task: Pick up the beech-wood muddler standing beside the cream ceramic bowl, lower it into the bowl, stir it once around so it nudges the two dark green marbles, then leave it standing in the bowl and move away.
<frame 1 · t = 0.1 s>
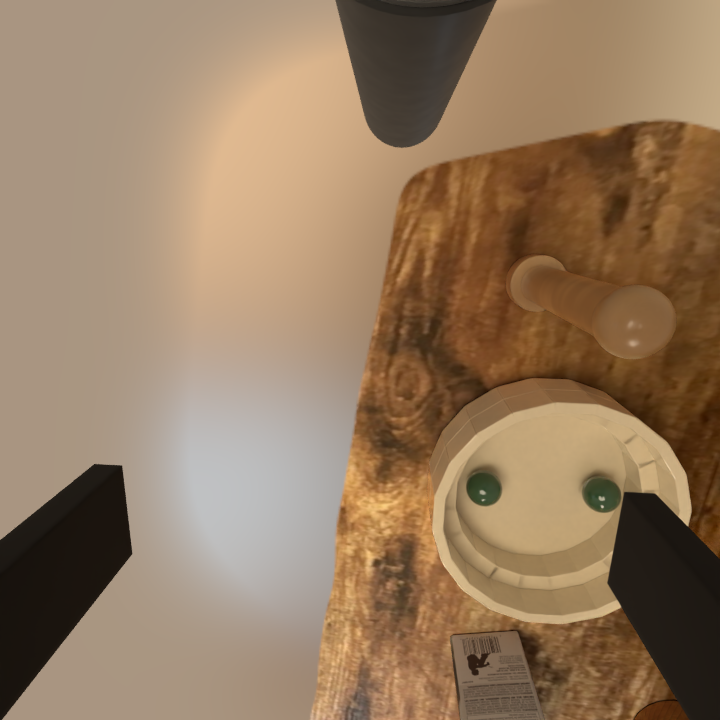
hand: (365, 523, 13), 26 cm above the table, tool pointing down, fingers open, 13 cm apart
marble a: (601, 494, 38), point 2 cm above the table, touching bowl
bowl: (535, 478, 40), on the table
marble b: (484, 488, 39), point 2 cm above the table, touching bowl
muddler: (533, 281, 36), on the table
coffee box: (487, 668, 46), on the table
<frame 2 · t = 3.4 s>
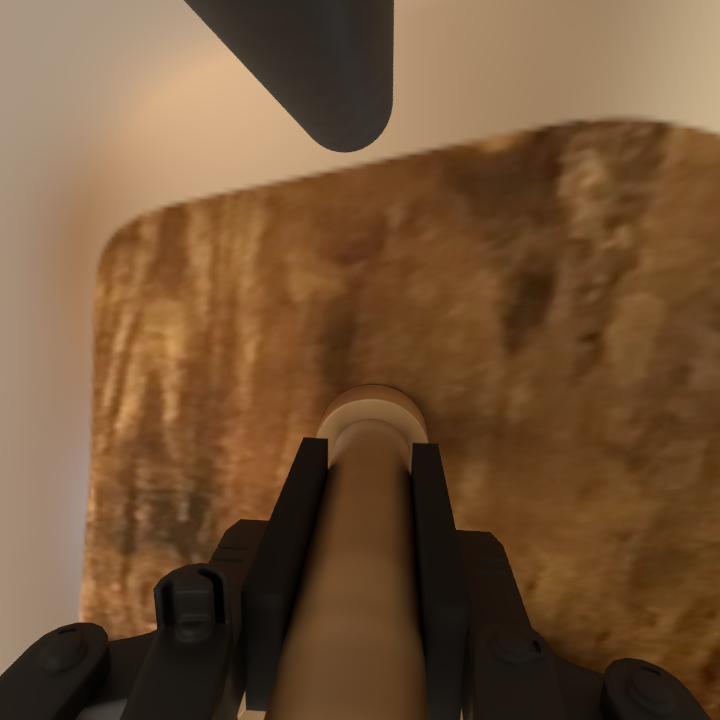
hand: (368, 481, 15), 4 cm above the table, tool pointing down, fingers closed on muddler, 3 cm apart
muddler: (373, 434, 19), on the table, touching gripper
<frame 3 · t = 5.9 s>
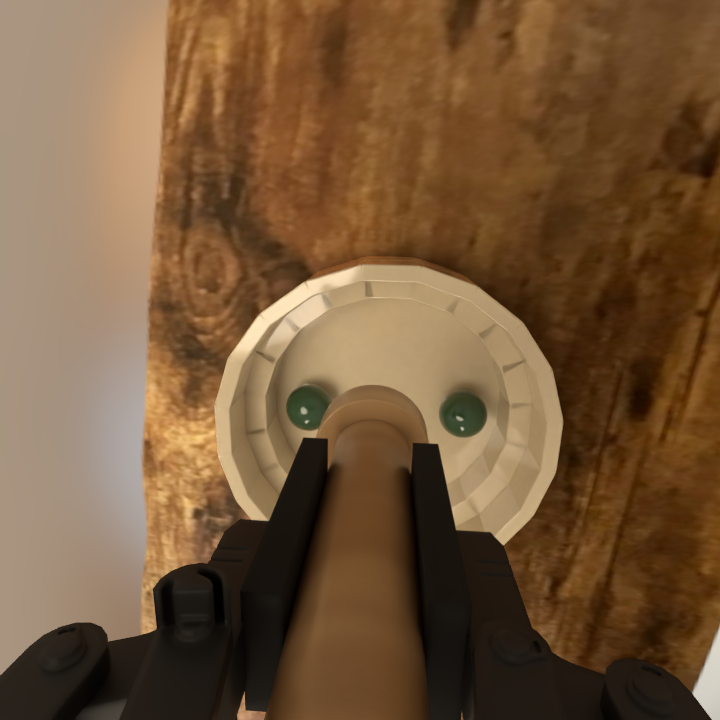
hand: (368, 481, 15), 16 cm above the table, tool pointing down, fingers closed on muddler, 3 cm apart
marble a: (462, 413, 29), point 2 cm above the table, touching bowl
bowl: (386, 398, 31), on the table
marble b: (309, 407, 29), point 2 cm above the table, touching bowl
muddler: (373, 434, 19), point 12 cm above the table, touching gripper
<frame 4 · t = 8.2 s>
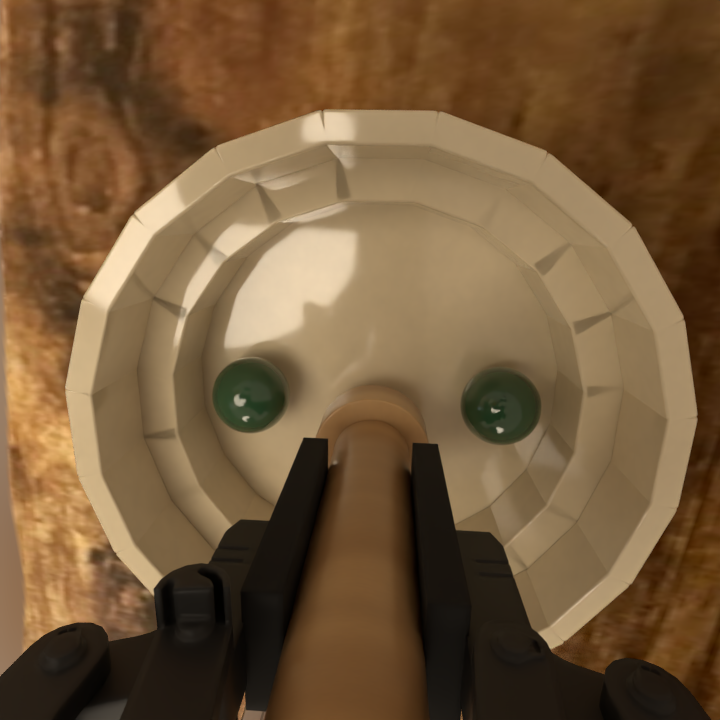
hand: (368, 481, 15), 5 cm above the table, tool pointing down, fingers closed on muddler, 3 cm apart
marble a: (499, 405, 18), point 2 cm above the table, touching bowl
bowl: (375, 383, 20), on the table
marble b: (251, 395, 18), point 2 cm above the table, touching bowl
muddler: (372, 435, 19), point 2 cm above the table, touching gripper
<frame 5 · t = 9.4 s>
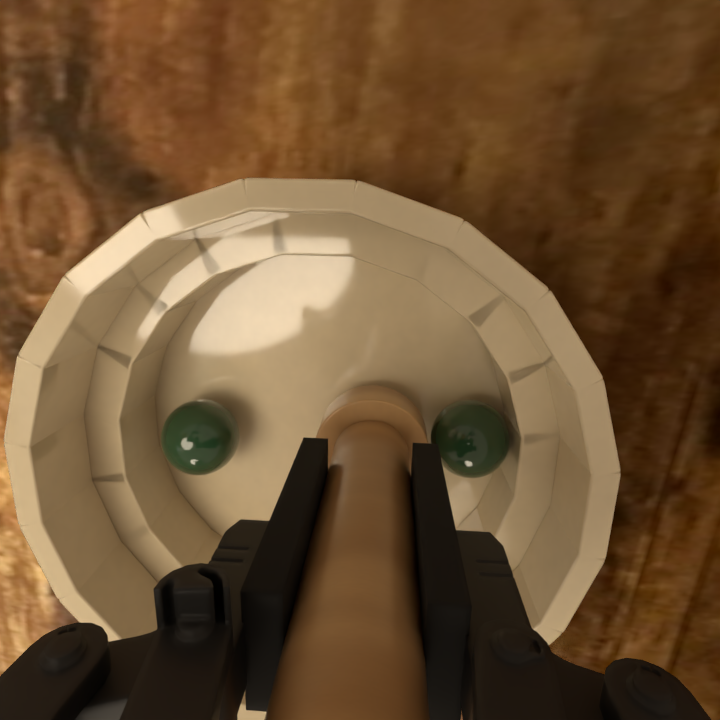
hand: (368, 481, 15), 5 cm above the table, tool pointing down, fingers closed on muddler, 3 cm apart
marble a: (469, 438, 18), point 2 cm above the table, tilted 39°, touching bowl
bowl: (327, 421, 20), on the table
marble b: (201, 436, 18), point 2 cm above the table, touching bowl
muddler: (372, 435, 19), point 1 cm above the table, touching gripper
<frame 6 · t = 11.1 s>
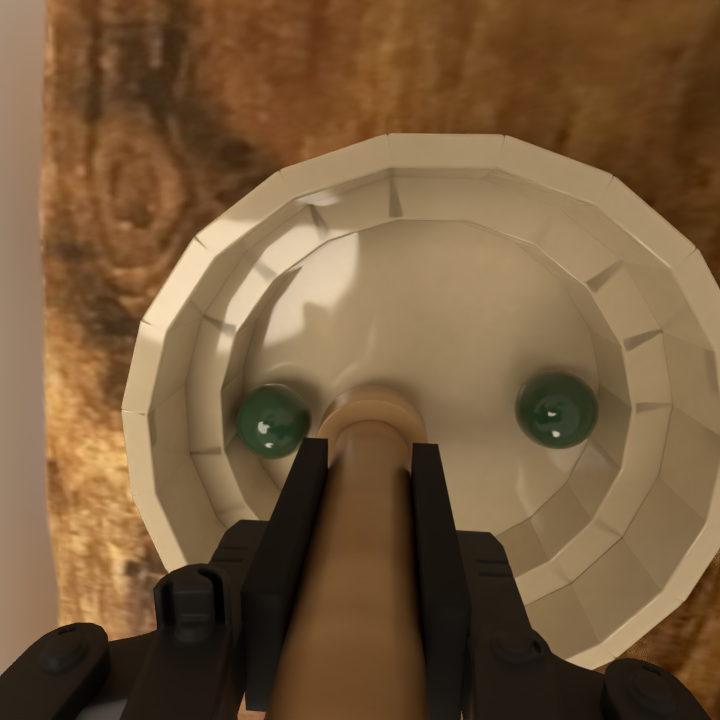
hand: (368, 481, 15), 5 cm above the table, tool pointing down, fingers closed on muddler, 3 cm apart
marble a: (555, 409, 18), point 2 cm above the table, tilted 22°, touching bowl
bowl: (415, 396, 20), on the table
marble b: (274, 421, 18), point 2 cm above the table, tilted 37°, touching bowl
muddler: (372, 435, 19), point 2 cm above the table, touching gripper
when the fingers open (4 cm above the table, at t = 12.9 s): muddler stays where it is, resting on bowl.
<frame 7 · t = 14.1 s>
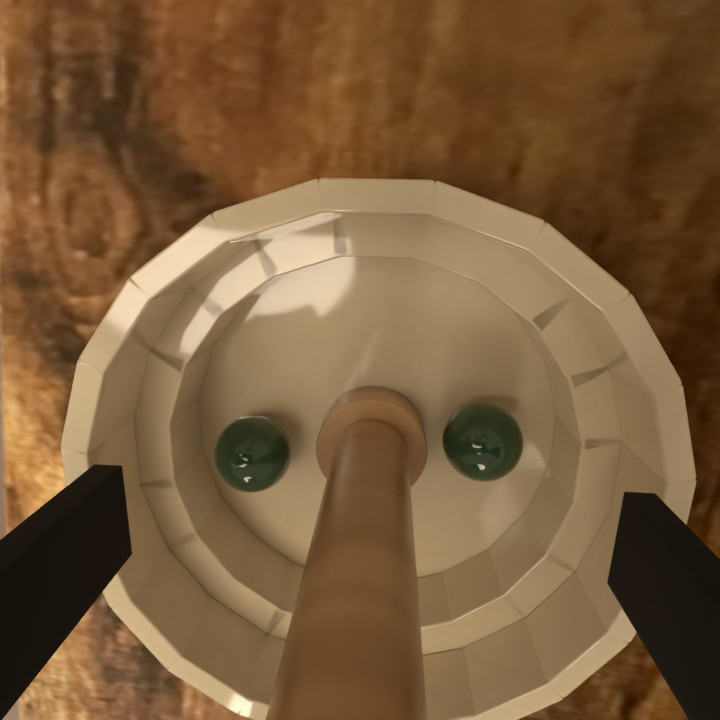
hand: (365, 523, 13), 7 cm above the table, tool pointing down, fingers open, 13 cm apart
marble a: (482, 441, 17), point 2 cm above the table, tilted 29°, touching bowl
bowl: (373, 426, 20), on the table
marble b: (253, 453, 18), point 2 cm above the table, tilted 18°, touching bowl
muddler: (372, 434, 19), point 1 cm above the table, touching bowl
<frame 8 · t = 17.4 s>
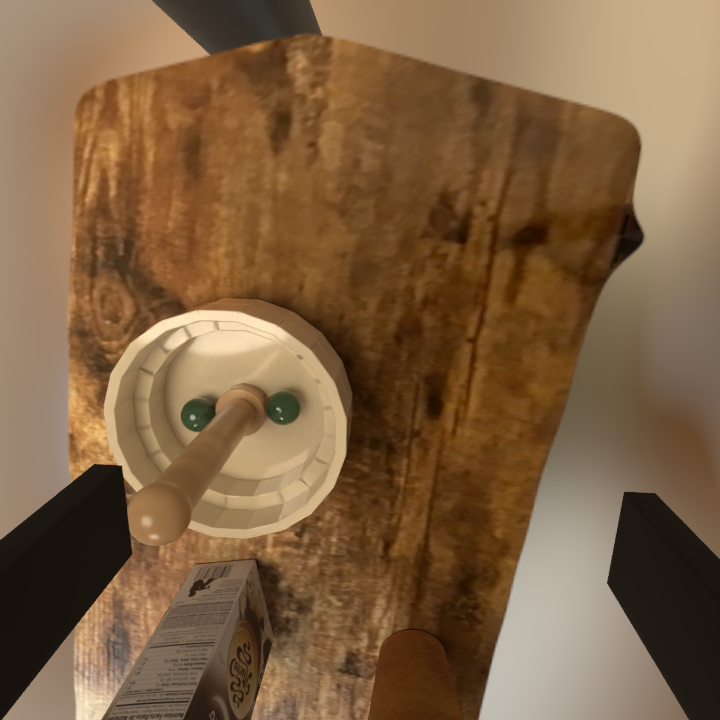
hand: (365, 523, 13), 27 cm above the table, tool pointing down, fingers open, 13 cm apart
marble a: (283, 407, 39), point 2 cm above the table, tilted 45°, touching bowl
bowl: (247, 402, 41), on the table
marble b: (199, 414, 40), point 2 cm above the table, tilted 46°, touching bowl
muddler: (245, 406, 41), point 1 cm above the table, touching bowl
coffee box: (235, 599, 47), on the table
disposable coffee cup: (412, 654, 47), on the table
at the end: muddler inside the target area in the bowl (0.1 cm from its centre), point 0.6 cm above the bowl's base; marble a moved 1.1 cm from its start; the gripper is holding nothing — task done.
